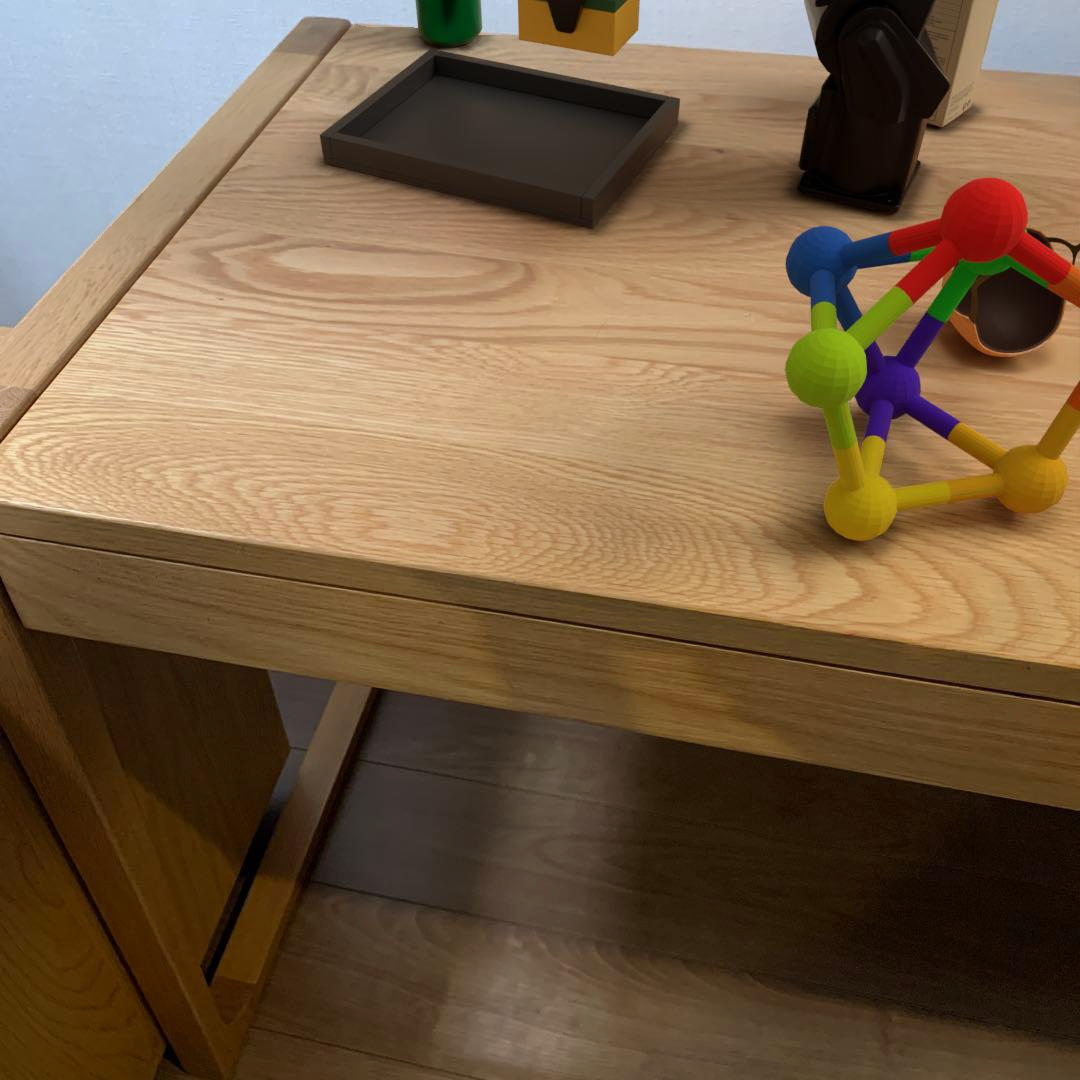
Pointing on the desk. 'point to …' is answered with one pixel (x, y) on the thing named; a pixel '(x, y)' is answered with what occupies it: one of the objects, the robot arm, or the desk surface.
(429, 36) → the soda can
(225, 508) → the desk surface
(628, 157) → the tray
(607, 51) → the sponge
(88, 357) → the desk surface
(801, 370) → the educational toy
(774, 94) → the desk surface
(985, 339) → the helmet
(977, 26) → the cosmetic box
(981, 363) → the desk surface
